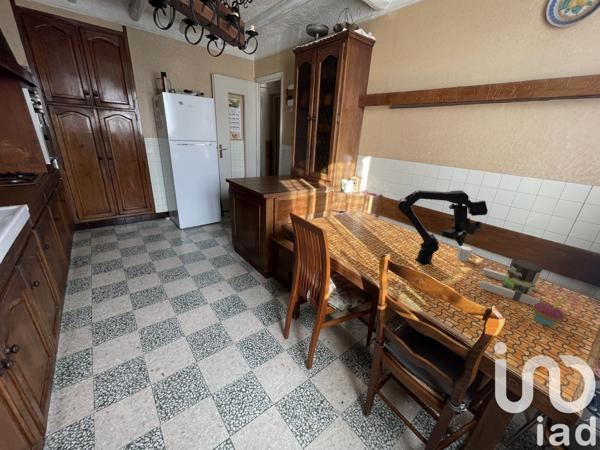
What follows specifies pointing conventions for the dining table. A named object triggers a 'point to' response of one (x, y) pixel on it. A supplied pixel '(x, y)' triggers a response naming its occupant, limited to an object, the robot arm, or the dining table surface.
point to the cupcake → (548, 313)
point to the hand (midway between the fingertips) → (460, 245)
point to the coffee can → (522, 275)
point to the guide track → (506, 292)
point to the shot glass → (464, 253)
